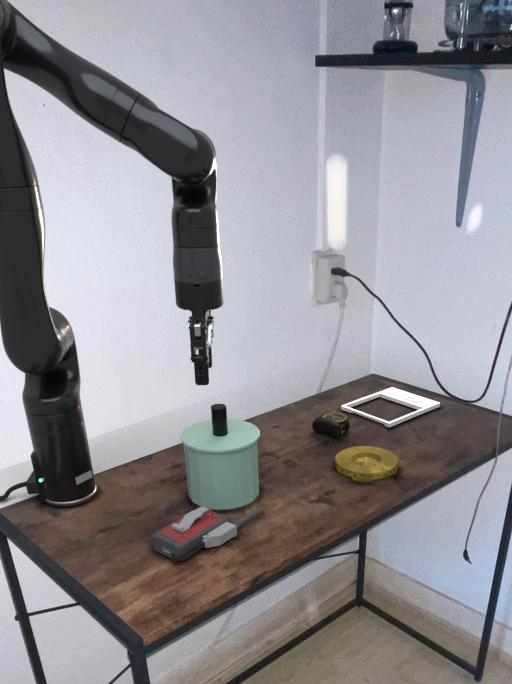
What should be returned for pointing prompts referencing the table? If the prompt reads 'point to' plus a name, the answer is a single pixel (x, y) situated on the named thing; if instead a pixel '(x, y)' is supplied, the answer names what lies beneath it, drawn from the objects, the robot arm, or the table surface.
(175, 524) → the walkie-talkie
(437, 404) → the photo frame
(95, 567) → the table surface
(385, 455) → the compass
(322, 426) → the tape measure
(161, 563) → the table surface
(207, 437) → the lid
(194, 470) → the cylindrical container
